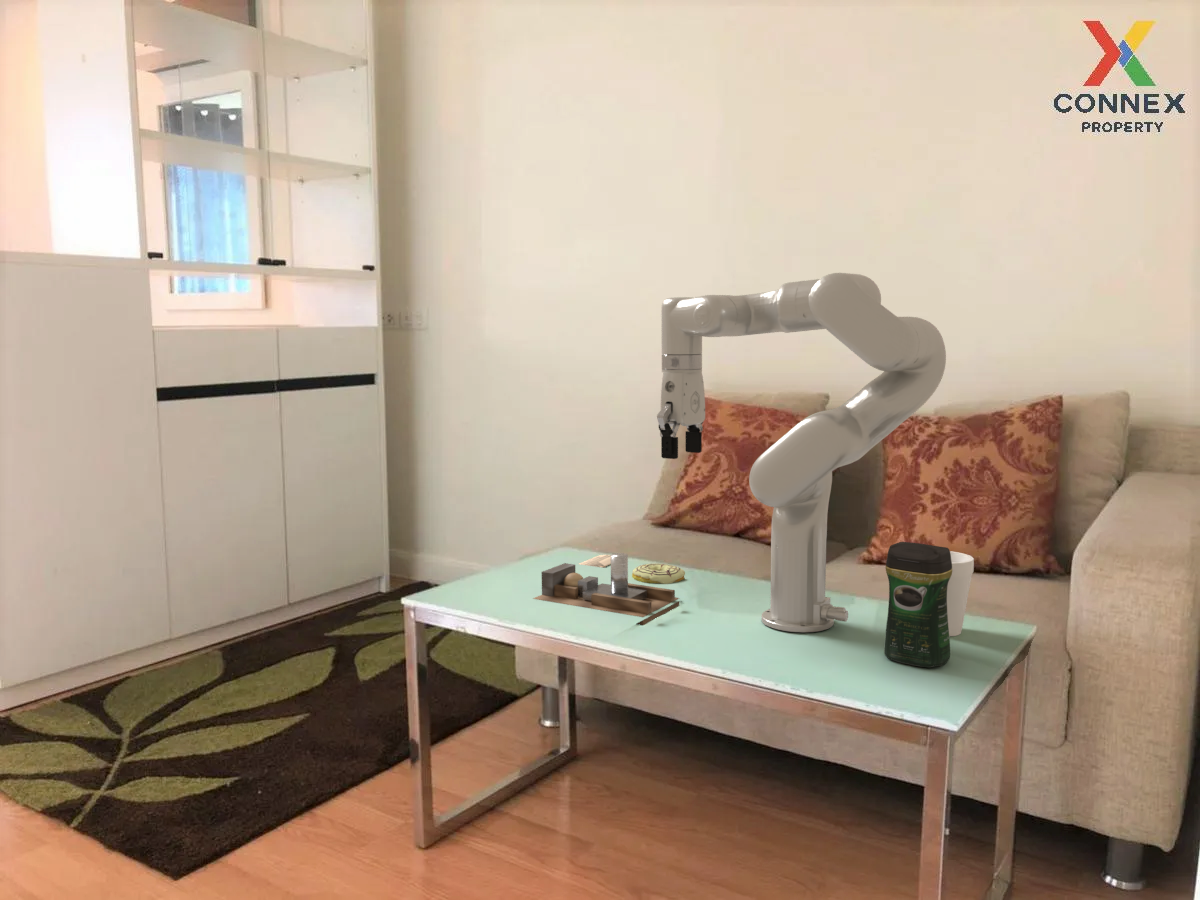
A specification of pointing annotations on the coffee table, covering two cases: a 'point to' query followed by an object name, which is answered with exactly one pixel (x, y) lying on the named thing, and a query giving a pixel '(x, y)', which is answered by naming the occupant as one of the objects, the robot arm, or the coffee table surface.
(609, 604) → the brown piece
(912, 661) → the coffee jar
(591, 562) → the newspaper
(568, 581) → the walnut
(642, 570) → the decorated donut
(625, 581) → the ram
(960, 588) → the foam cup
